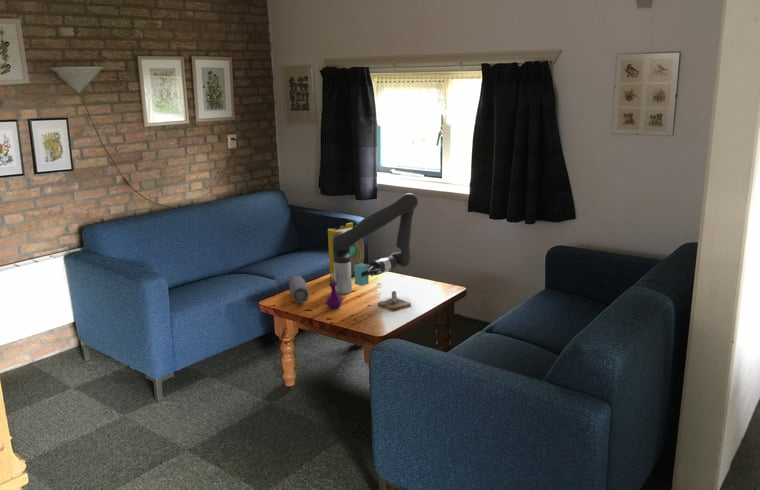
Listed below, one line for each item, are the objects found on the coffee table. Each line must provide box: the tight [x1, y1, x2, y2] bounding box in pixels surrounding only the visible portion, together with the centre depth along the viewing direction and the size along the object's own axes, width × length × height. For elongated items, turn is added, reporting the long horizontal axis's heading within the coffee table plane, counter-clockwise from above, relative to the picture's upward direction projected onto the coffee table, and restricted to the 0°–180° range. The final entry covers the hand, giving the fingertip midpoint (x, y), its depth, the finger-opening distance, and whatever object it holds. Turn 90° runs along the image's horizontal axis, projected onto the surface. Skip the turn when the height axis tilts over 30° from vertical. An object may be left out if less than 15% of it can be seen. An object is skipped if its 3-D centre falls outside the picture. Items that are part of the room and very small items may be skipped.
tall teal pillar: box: [354, 262, 370, 287], centre depth 333 cm, size 5×5×10 cm
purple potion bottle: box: [325, 273, 344, 310], centre depth 334 cm, size 8×8×18 cm
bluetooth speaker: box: [288, 275, 310, 304], centre depth 350 cm, size 23×9×10 cm, turn 12°
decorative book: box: [327, 222, 365, 278], centre depth 386 cm, size 20×11×30 cm, turn 131°
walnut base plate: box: [377, 290, 412, 312], centre depth 334 cm, size 12×12×8 cm
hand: (357, 273), depth 331 cm, fingers closed on tall teal pillar, 5 cm apart
